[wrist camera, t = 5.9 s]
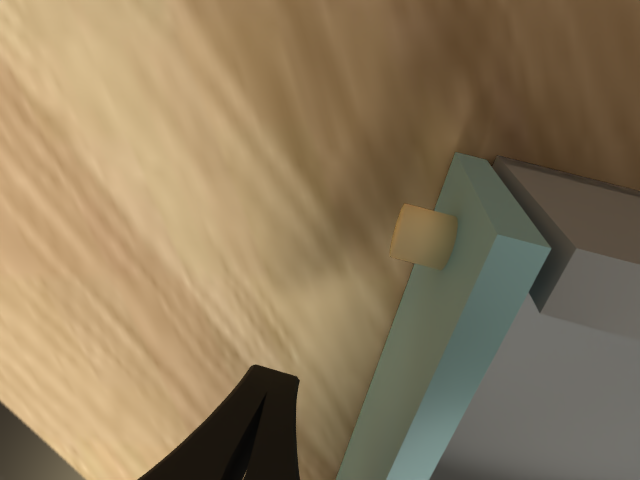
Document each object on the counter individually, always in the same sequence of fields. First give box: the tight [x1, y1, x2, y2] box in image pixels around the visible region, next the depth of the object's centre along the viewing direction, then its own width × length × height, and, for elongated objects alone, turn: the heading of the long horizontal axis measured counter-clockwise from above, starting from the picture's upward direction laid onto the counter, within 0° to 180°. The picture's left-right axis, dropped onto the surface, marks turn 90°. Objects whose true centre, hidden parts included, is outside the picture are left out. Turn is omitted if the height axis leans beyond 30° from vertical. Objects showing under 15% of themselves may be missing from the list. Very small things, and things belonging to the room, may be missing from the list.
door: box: [336, 152, 552, 480], centre depth 12 cm, size 15×2×5 cm, turn 168°
